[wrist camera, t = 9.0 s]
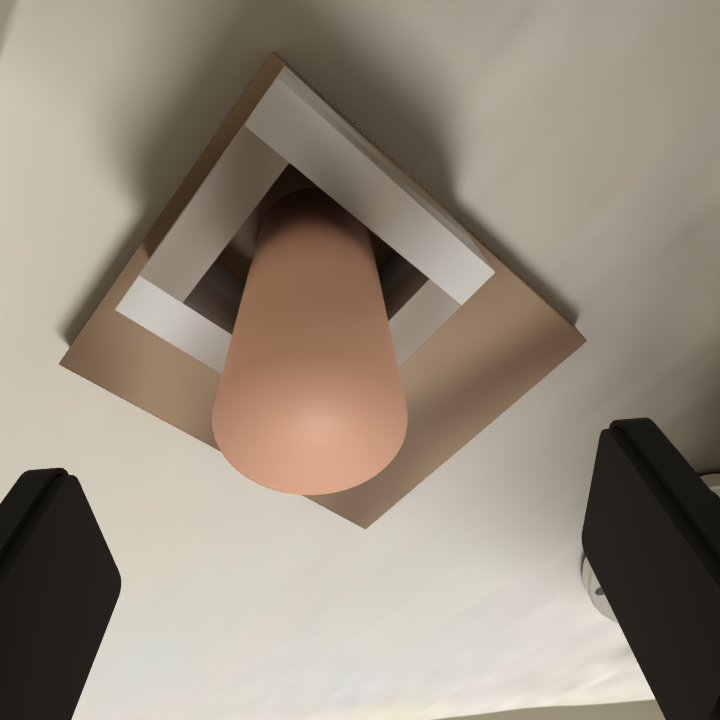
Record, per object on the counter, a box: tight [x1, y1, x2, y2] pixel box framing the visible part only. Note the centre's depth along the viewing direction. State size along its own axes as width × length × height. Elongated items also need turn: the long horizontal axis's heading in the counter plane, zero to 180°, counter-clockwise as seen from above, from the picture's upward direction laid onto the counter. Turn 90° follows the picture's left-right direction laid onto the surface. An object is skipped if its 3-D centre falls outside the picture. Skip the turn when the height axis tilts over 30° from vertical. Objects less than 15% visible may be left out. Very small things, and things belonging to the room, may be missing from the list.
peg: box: [212, 189, 408, 495], centre depth 15 cm, size 4×4×10 cm
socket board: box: [59, 51, 587, 529], centre depth 21 cm, size 16×14×5 cm
